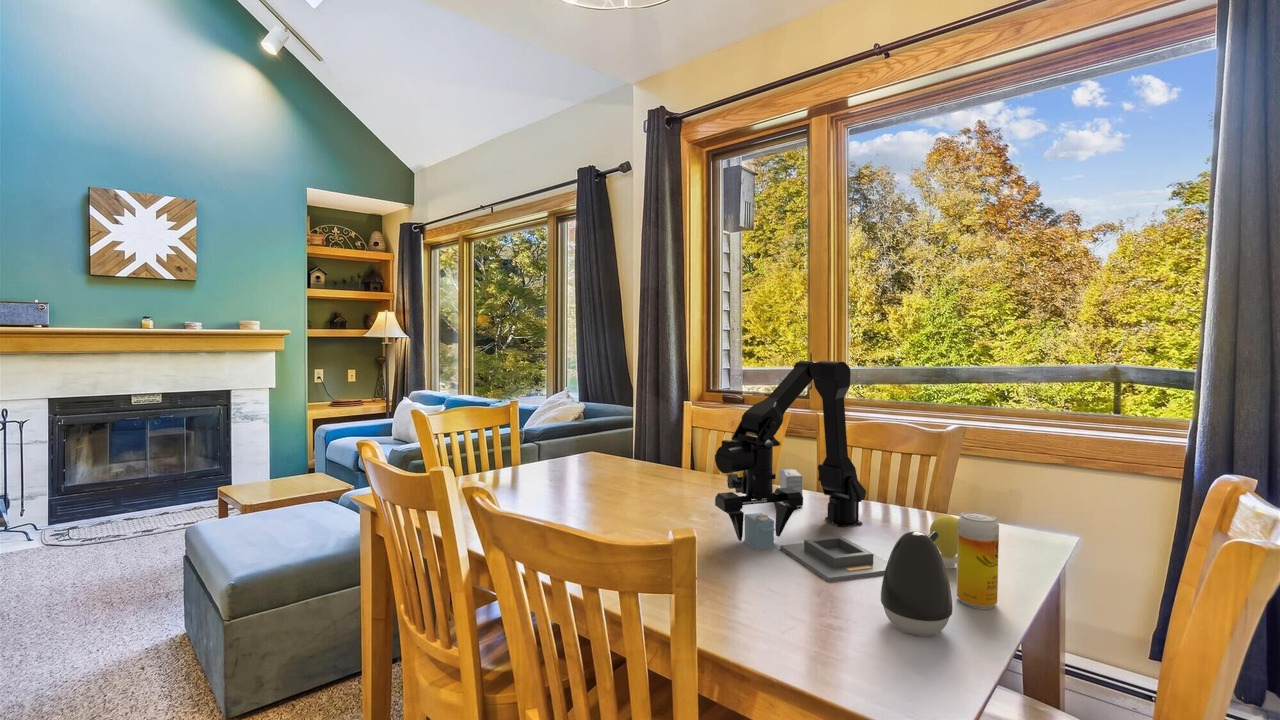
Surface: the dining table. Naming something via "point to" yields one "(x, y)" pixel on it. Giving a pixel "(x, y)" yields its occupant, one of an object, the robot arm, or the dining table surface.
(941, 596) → the dark egg-shaped diffuser
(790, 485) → the medicine box
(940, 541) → the light bulb
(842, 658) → the dining table surface
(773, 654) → the dining table surface
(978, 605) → the beer can
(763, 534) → the block
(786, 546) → the chassis plate
